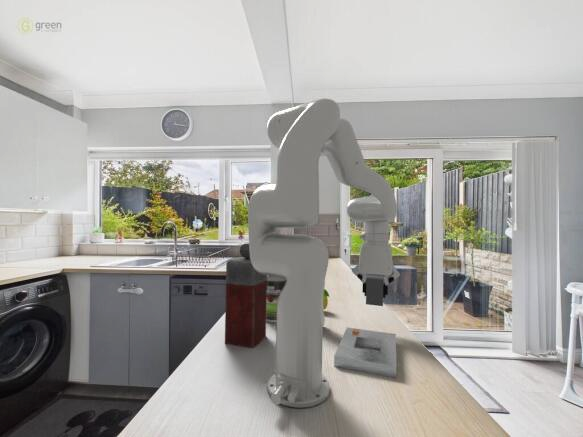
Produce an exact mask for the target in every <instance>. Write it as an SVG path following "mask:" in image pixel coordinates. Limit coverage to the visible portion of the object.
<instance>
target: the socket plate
mask: <svg viewBox="0 0 583 437" xmlns="http://www.w3.org/2000/svg"><path fill="white" fill-rule="evenodd" d="M396 336H397V334H396V333H390V332H383V331H376V330H368V329H362V328H355V327H346V328H345V330H344V333H343V335H342V337H341V340H340V342H339V344H338V346H337V349H336V351H335V353H334V355H333V366H334V367H335V368H336V367H337V368H341V369H348V370H351V371H358V372H363V373H369V374H375V375H379V376H385V377H390V378H397V337H396ZM358 347H359V348H358ZM360 347H362V348H360ZM363 347H364V348H363ZM365 348H367V349H365ZM368 348H369V349H368ZM370 348H371V349H376V350H371V349H370ZM377 350H380V351H377Z"/></svg>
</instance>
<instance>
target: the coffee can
mask: <svg viewBox="0 0 583 437" xmlns="http://www.w3.org/2000/svg"><path fill="white" fill-rule="evenodd" d="M285 284H286V279H282V278H277V277H271V276H267V295H266V323H267V322H268V323H277V300H278V297H279V294H280V292H281V291H282V289H283V287H284V286H285Z"/></svg>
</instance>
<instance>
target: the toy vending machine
mask: <svg viewBox="0 0 583 437" xmlns="http://www.w3.org/2000/svg"><path fill="white" fill-rule="evenodd" d="M239 254H240V256H241V257H235V258H231V259H229V260H227V261H226V266H225V271H226V273H225V311H224V313H225V314H224V315H225V317H224V318H225V319H224V322H225V323H224V344H225V345H231V346H236V347H242V348H249V349H254V348H255V347H257V346H258V345H259V344H260V343H261V342H262V341H263V340H264V339H265V338H266V336H267V335H266V334H267V321H266V295H267V276H266V275H262V274H260V273H258V272H257V271H256V270H255V269H254V267H253V265H252V263H251V259H250V251H249V242H246V243H243V244H242V245H241V246H240V247H239Z"/></svg>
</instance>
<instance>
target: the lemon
mask: <svg viewBox="0 0 583 437" xmlns="http://www.w3.org/2000/svg"><path fill="white" fill-rule="evenodd" d="M328 297H329V298H330V294H329V292H328V291H327V290H326V289H325V288H324V294H323V310H326V308H328V305H329V304H328Z"/></svg>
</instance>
